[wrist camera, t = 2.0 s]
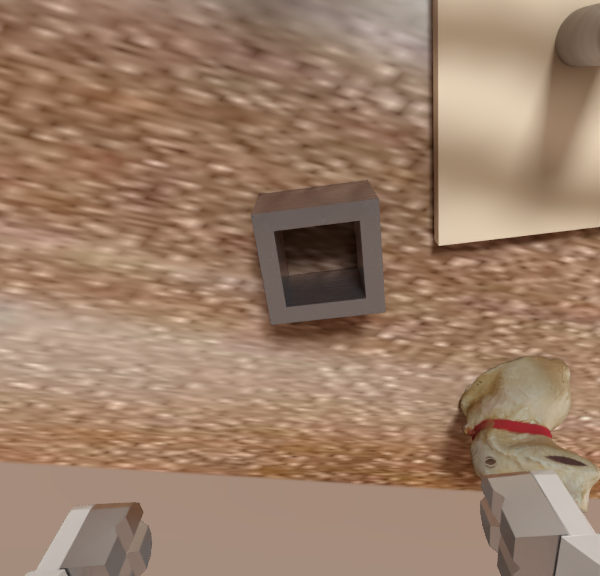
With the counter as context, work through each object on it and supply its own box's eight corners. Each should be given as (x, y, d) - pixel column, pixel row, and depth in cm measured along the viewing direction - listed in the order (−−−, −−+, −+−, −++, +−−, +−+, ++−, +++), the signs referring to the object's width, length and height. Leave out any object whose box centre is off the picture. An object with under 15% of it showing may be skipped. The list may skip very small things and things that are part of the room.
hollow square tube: (259, 194, 26) (250, 214, 22) (367, 180, 26) (378, 198, 22) (276, 291, 29) (271, 324, 25) (374, 279, 29) (385, 312, 25)
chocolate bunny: (450, 363, 31) (508, 478, 22) (565, 350, 31) (674, 464, 22) (450, 423, 34) (503, 551, 24) (557, 413, 33) (653, 539, 24)
